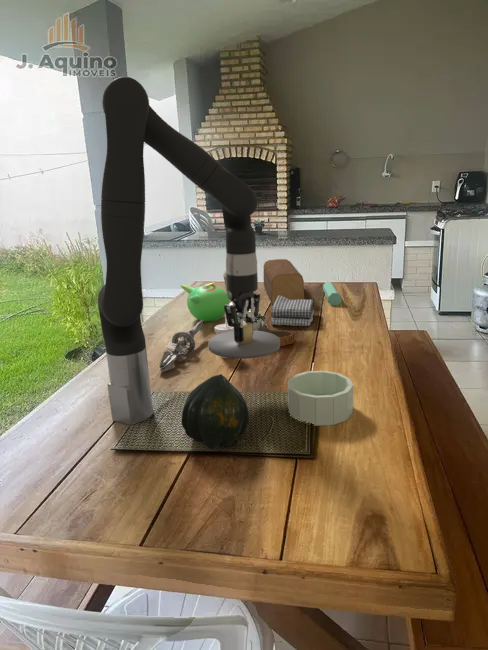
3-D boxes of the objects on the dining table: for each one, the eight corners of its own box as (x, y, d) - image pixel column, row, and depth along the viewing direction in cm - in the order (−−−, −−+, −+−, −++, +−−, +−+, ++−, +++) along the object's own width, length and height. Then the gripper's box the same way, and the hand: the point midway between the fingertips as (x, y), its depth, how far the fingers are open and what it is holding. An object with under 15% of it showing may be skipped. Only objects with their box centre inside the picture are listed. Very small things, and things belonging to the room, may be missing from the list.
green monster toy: (236, 322, 194) (234, 284, 189) (193, 330, 188) (190, 291, 183) (220, 311, 210) (218, 276, 205) (180, 317, 204) (177, 281, 199)
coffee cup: (221, 299, 227) (220, 273, 223) (227, 295, 235) (226, 269, 231) (240, 300, 225) (238, 273, 221) (245, 295, 232) (244, 269, 229)
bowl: (338, 430, 114) (339, 402, 112) (278, 417, 121) (277, 390, 119) (360, 402, 126) (360, 376, 124) (303, 392, 133) (303, 367, 131)
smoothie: (234, 360, 157) (231, 316, 153) (214, 359, 159) (210, 316, 154) (238, 352, 163) (236, 310, 159) (219, 352, 165) (216, 310, 160)
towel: (270, 327, 187) (269, 307, 185) (275, 313, 204) (275, 294, 202) (312, 328, 184) (312, 306, 182) (314, 313, 201) (314, 293, 199)
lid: (258, 363, 117) (258, 340, 116) (194, 351, 126) (192, 329, 124) (292, 340, 132) (292, 319, 130) (232, 331, 141) (231, 311, 139)
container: (324, 278, 232) (330, 290, 208) (336, 282, 232) (344, 295, 208) (319, 290, 233) (325, 303, 210) (331, 294, 234) (338, 308, 210)
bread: (292, 286, 245) (291, 256, 241) (305, 305, 213) (304, 271, 208) (263, 288, 244) (262, 258, 240) (271, 307, 212) (270, 273, 208)
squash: (175, 440, 102) (219, 380, 102) (165, 411, 116) (204, 358, 116) (229, 472, 108) (272, 414, 107) (213, 440, 122) (251, 389, 121)
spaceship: (216, 315, 176) (195, 306, 177) (176, 363, 146) (151, 352, 147) (210, 334, 180) (189, 326, 181) (170, 385, 149) (145, 374, 150)
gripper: (240, 278, 116) (242, 349, 121) (269, 266, 127) (270, 332, 132) (212, 275, 119) (215, 345, 124) (243, 264, 131) (245, 328, 136)
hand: (244, 338), depth 128 cm, fingers closed on lid, 4 cm apart
